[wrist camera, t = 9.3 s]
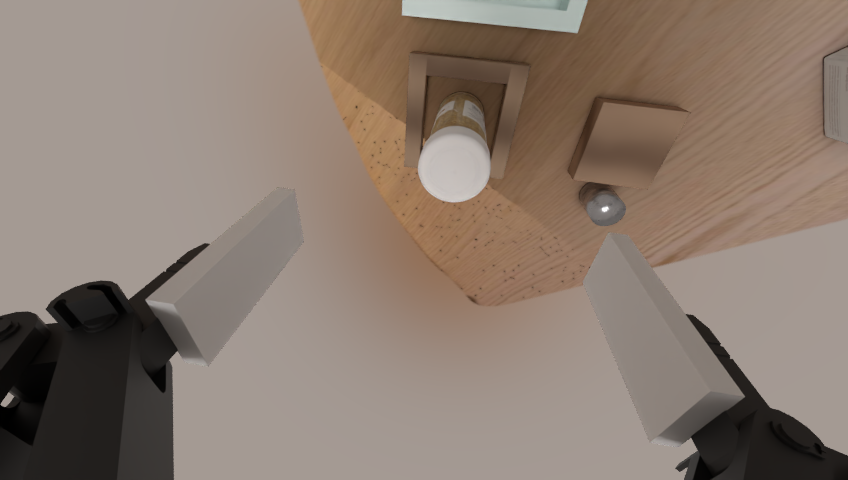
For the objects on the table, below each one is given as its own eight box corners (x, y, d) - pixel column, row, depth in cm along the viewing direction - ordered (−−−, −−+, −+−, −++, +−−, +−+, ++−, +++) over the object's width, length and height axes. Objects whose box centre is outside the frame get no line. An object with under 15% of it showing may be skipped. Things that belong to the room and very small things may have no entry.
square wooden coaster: (594, 96, 28) (603, 102, 26) (674, 105, 28) (690, 112, 26) (566, 169, 32) (573, 179, 30) (636, 178, 32) (647, 189, 30)
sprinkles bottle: (433, 97, 29) (408, 142, 18) (481, 85, 28) (486, 127, 17) (442, 144, 32) (426, 209, 21) (487, 135, 31) (495, 199, 20)
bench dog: (585, 178, 32) (598, 196, 29) (615, 182, 32) (631, 200, 28) (574, 204, 34) (585, 223, 30) (603, 207, 33) (617, 228, 30)
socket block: (412, 51, 27) (409, 52, 26) (527, 63, 27) (530, 66, 25) (407, 160, 33) (404, 166, 32) (501, 172, 33) (502, 179, 31)
